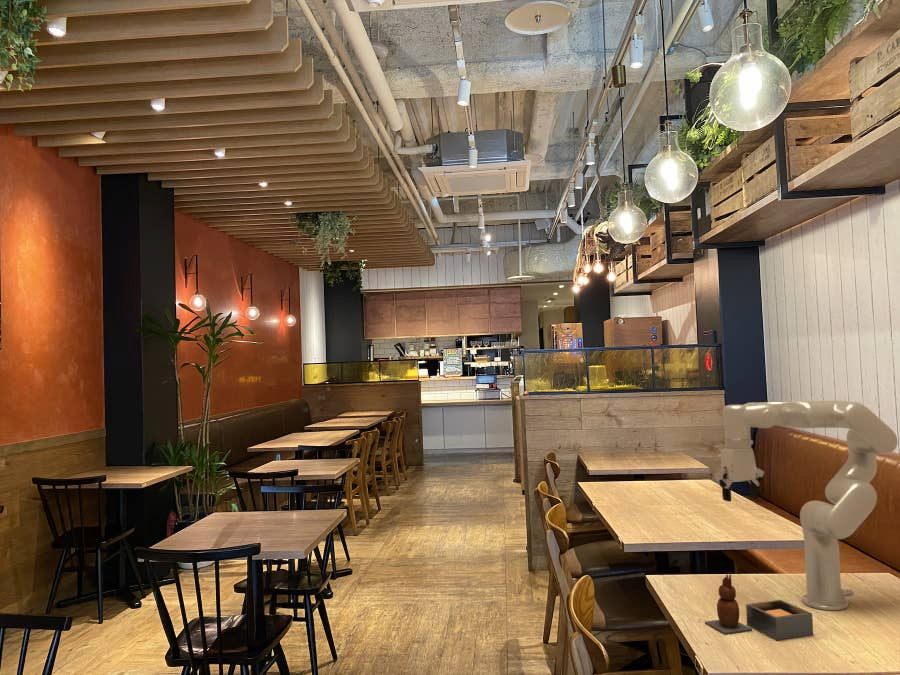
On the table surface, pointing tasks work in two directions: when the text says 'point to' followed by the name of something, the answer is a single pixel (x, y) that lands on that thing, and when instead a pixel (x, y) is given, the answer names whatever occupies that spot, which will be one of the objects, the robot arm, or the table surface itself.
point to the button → (778, 612)
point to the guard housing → (779, 620)
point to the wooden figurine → (727, 604)
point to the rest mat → (728, 630)
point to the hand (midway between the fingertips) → (740, 499)
